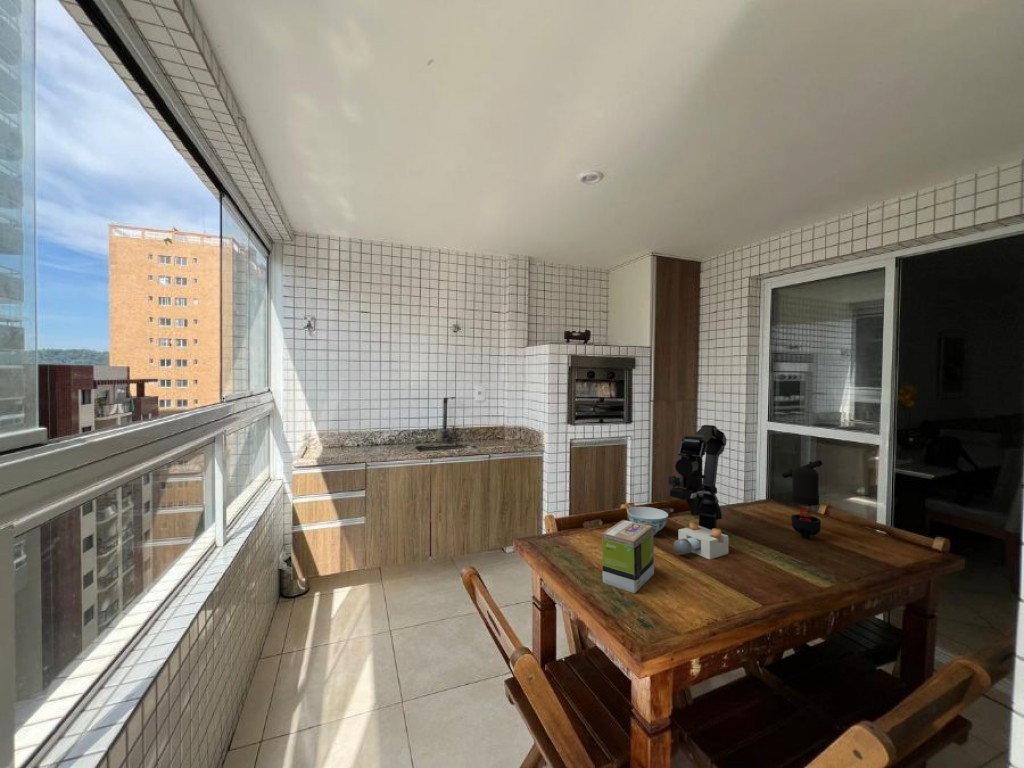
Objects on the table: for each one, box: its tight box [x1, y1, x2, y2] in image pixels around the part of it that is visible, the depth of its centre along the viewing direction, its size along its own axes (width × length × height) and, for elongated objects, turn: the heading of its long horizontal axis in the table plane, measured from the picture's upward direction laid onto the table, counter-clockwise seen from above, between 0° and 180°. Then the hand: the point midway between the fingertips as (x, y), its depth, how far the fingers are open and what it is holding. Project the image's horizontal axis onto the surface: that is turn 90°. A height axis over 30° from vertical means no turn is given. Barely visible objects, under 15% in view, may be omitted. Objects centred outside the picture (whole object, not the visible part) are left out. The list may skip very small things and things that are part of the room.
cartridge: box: [673, 537, 701, 555], centre depth 135 cm, size 16×5×5 cm, turn 119°
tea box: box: [601, 519, 655, 594], centre depth 116 cm, size 15×10×15 cm, turn 141°
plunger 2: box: [712, 528, 722, 539], centre depth 134 cm, size 3×3×2 cm
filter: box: [781, 459, 823, 540], centre depth 150 cm, size 14×9×30 cm
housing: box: [678, 525, 729, 561], centre depth 137 cm, size 10×12×6 cm
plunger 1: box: [688, 521, 699, 530], centre depth 142 cm, size 3×3×2 cm
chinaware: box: [627, 506, 669, 536], centre depth 154 cm, size 15×15×8 cm
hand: (693, 515), depth 142 cm, fingers closed
